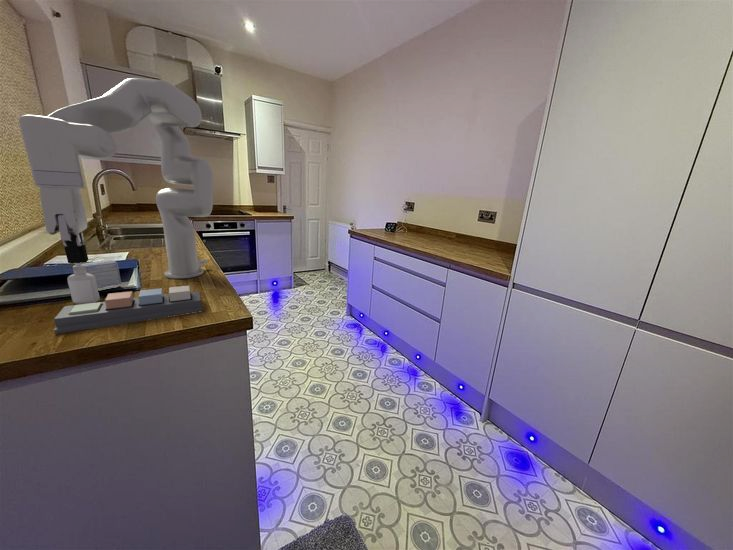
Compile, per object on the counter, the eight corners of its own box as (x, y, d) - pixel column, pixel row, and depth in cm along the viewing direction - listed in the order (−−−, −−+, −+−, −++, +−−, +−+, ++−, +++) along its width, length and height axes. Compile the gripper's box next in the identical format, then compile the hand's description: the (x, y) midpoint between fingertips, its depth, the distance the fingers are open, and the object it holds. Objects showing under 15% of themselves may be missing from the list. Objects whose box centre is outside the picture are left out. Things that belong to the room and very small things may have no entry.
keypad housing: (199, 298, 89) (198, 289, 88) (202, 312, 80) (201, 302, 79) (69, 314, 73) (66, 303, 73) (55, 333, 65) (51, 321, 64)
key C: (103, 310, 74) (101, 302, 74) (99, 317, 71) (97, 309, 70) (77, 313, 72) (75, 304, 71) (72, 321, 68) (69, 312, 67)
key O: (133, 299, 77) (132, 291, 77) (131, 306, 73) (129, 297, 73) (110, 302, 75) (108, 293, 74) (106, 309, 71) (104, 300, 70)
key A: (189, 293, 84) (189, 285, 83) (190, 298, 80) (189, 290, 80) (170, 295, 82) (169, 287, 81) (170, 301, 78) (168, 293, 77)
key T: (163, 296, 81) (161, 288, 80) (162, 302, 77) (161, 294, 76) (141, 298, 78) (140, 290, 77) (139, 305, 74) (138, 296, 74)
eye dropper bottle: (84, 306, 79) (74, 264, 75) (70, 302, 80) (60, 261, 76) (102, 300, 83) (94, 260, 79) (88, 297, 84) (79, 257, 81)
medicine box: (116, 284, 95) (111, 259, 93) (122, 287, 93) (117, 261, 91) (84, 290, 89) (78, 263, 86) (90, 294, 87) (84, 266, 84)
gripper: (47, 178, 66) (66, 256, 72) (18, 179, 54) (44, 272, 60) (91, 181, 70) (106, 254, 75) (73, 182, 58) (92, 269, 64)
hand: (78, 262), depth 68 cm, fingers closed
